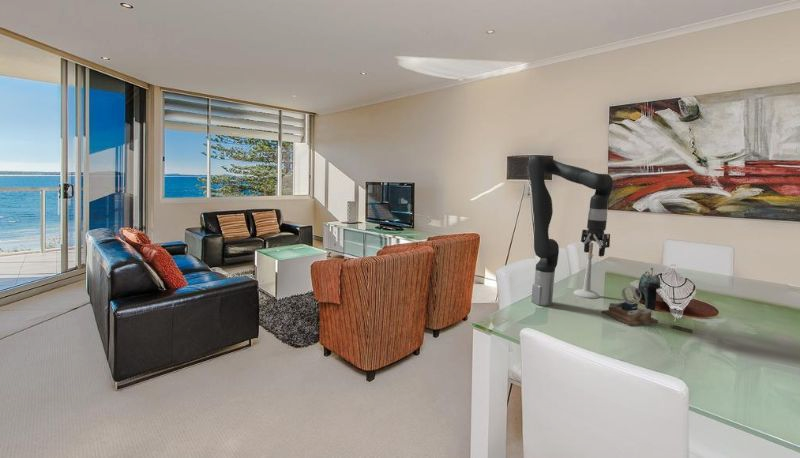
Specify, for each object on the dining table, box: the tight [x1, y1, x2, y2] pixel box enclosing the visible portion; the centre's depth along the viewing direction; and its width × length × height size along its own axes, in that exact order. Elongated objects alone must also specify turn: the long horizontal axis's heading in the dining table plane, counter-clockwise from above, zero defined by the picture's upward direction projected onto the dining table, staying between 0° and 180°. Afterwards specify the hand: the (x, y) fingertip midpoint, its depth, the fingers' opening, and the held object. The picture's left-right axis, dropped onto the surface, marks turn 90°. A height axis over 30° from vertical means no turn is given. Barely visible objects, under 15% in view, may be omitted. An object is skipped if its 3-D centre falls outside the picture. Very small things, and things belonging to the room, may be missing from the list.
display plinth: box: [600, 301, 659, 327], centre depth 176 cm, size 16×16×6 cm
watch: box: [621, 285, 642, 311], centre depth 175 cm, size 6×8×11 cm
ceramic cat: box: [637, 267, 661, 311], centre depth 194 cm, size 20×6×20 cm, turn 161°
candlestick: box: [573, 241, 600, 300], centre depth 207 cm, size 13×13×30 cm
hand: (593, 254), depth 171 cm, fingers open, 8 cm apart
